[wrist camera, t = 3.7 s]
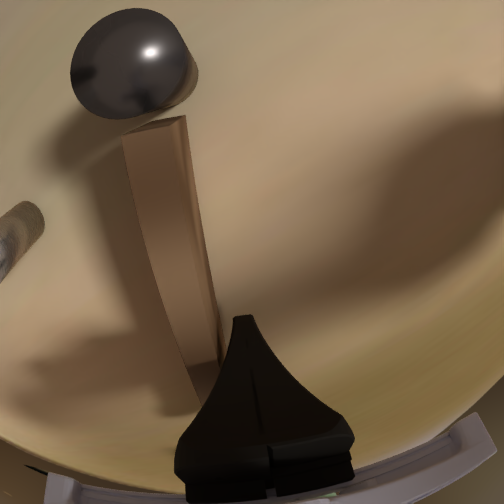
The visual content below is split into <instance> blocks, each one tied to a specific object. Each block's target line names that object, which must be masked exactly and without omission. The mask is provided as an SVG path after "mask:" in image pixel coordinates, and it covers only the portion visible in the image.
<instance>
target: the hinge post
mask: <svg viewBox="0 0 504 504" xmlns="http://www.w3.org/2000/svg"><path fill="white" fill-rule="evenodd" d="M70 76H71V84H72V88H73V90H74V93H75V95H76V97H77V99H78V100H79V101H80V103H81V104H82V105H83V106H84V107H85V108H86V109H88V110H89V111H90V112H92V113H94V114H96V115H98V116H101V117H103V118H108V119H126V118H131V117H135V116H138V115H142V114H145V113H149V112H152V111H156V110H159V109H163V108H167V107H171V106H175V105H177V104H179V103H181V102H183V101H184V100H186V99H187V98H188V97H189V96H190V95H191V94H192V92H193V91H194V89H195V87H196V84H197V81H198V68H197V65H196V62H195V61H194V59H193V57H192V55H191V53H190V51H189V50H188V48H187V46H186V44H185V42H184V41H183V39H182V37H181V35H180V33H179V32H178V30H177V28H176V27H175V25H174V24H173V23H172V22H171V21H170V20H169V19H168V18H166V17H165V16H163V15H162V14H160V13H158V12H155V11H152V10H149V9H142V8H132V9H125V10H121V11H117V12H115V13H112V14H110V15H108V16H106V17H104V18H103V19H101V20H99V21H98V22H97V23H96V24H94V25H93V26H92V27H91V28H90V29H89V30H88V31H87V32H86V33H85V35H84V36H83V37H82V39H81V40H80V42H79V43H78V45H77V47H76V49H75V52H74V55H73V58H72V62H71V70H70Z"/></svg>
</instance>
